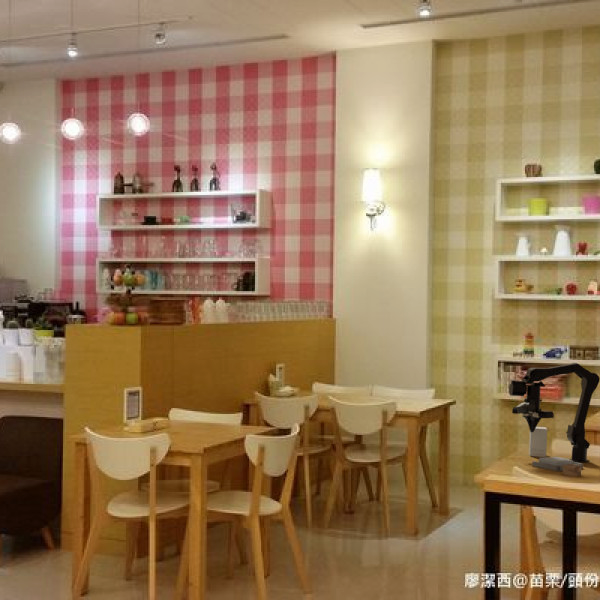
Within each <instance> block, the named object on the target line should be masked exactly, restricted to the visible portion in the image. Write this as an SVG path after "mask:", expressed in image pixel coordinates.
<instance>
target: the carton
mask: <svg viewBox="0 0 600 600" xmlns="http://www.w3.org/2000/svg"><path fill="white" fill-rule="evenodd" d="M569 459H570V458H569ZM569 459H568V458H564V457H560V456H551V457H550V456H549V457H548V456H546V457H539V459H538V460H539V461H538V462H541V463H546V464H551V465H556V466H562V465H566V464H572V462H574V461H573V460H569Z"/></svg>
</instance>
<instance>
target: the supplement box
mask: <svg viewBox="0 0 600 600" xmlns="http://www.w3.org/2000/svg"><path fill="white" fill-rule="evenodd" d="M528 445H529V446H528V447H529V448H528V455H529V456H530V457H539V458H545V457H547V450H548V449H547V445H548V428H547V427H544V426H536V428H535V430H534V432H530V431H529V444H528Z"/></svg>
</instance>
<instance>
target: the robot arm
mask: <svg viewBox="0 0 600 600" xmlns="http://www.w3.org/2000/svg"><path fill="white" fill-rule="evenodd" d="M573 373H574V374H575V375H576V377H578V378H579V379H580V380H581V382H580V387H581V388H580V389H581V393H580V396H579V397H580V398H579V400H578V405H577V409H576V412H575V416H574V420H573V423H572V424H568V425H567V430H566V432H565V434H566V438H567V440H568V441H569V442H570V444H571V446H572V449H571V458H569V460H573V461H572V462H577V463H586V462H590V459H587V458H588V449H589V448H590V447H591V446H590V445H591V444H590V442H589V441H588V440H587V439H586V428H585V427H586V425H585V424H586V420H587V416H588V413H589V409H590V404H591V400H592V397H593V393H594V392H595V391H596V389H597V388H598V385H599V384H600V376H599V375H598V373H596V372H591V371H590V370H588V369H586V368H585V367H583V366H582V365H580V363H577V362H572V363H568V364H561V365H557V366H552V367H551V366H550V367H530V368H527V371H526V373H525V375H524V377H523V378H522V379H521V380H516V379H515V380H513V379H511V381H510V384H509V387H508V393H509V395H510V397H524V396H525V395H526V398H524V400H523V402H522V403H520V404H518V405H517V406H513V408H512V409H511V411H512V412H511V413H512V414H514V415H515V414H516V415H518V414H521V415H522V417H523V418H524V419H525V420H526V422H527V425H528V427H529V433H530V432H534V430H535V428H536V427H538V424H539V423H540V421H541V419H554V418H555V413H554V412H553V411H552V410H542V408H541V406H540V405H541V402H543V399H541V388H542V387H543V388H546V384H544V382H543V380H546V379H547V378H550V377H555V376H560V375H566V374H567V375H568V374H573Z"/></svg>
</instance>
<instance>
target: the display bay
mask: <svg viewBox="0 0 600 600" xmlns="http://www.w3.org/2000/svg"><path fill="white" fill-rule="evenodd" d="M531 463H532V464H531V465H532V467H534V468H535V467H536V468H538V469H539V468H540V469H545V470H549V471H552V472H553V471H554V472H557V473H558V472H563V465H562V466H556V465H551V464H546V463H541V462H539V461H535V460H533V461H532V462H531ZM572 464H574V465H579V466H581V470H583V469H584V463H583V462H577V461H572Z"/></svg>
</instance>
